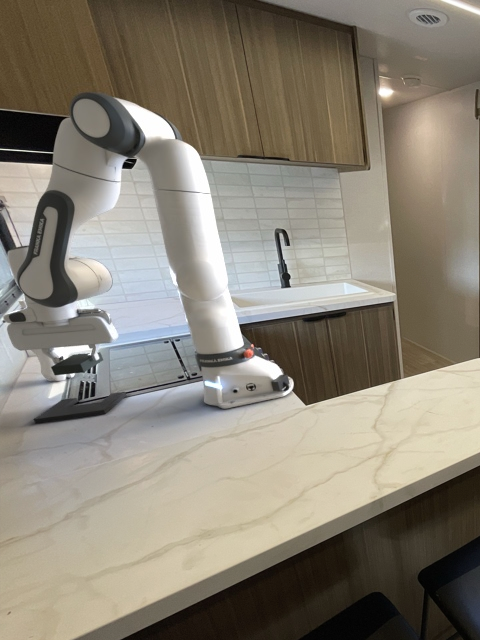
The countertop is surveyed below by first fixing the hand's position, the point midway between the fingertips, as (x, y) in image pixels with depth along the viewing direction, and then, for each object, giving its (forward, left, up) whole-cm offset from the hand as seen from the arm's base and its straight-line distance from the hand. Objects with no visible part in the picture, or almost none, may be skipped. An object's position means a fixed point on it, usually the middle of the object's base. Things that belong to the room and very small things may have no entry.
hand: (77, 361), depth 108 cm
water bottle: (+18, -23, -12) cm, 32 cm away
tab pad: (0, 0, -2) cm, 2 cm away
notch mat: (0, +6, -12) cm, 13 cm away
